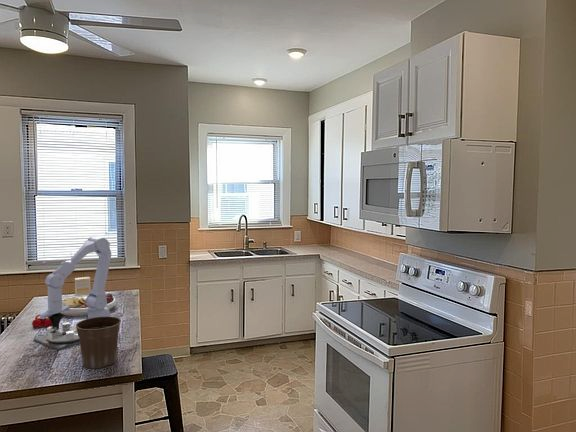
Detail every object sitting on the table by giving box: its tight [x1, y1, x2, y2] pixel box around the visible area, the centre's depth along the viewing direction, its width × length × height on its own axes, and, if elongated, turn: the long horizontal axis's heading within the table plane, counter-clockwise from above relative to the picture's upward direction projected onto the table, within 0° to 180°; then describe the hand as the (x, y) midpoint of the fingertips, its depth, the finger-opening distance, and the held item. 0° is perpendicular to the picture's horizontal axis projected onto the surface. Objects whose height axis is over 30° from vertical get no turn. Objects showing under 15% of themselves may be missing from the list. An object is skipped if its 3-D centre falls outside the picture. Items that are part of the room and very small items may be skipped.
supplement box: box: [74, 276, 91, 297], centre depth 264 cm, size 8×5×13 cm, turn 120°
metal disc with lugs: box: [45, 321, 80, 343], centre depth 196 cm, size 17×17×4 cm
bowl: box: [61, 292, 116, 317], centre depth 243 cm, size 30×30×8 cm
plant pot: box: [75, 316, 122, 370], centre depth 171 cm, size 16×16×16 cm
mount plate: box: [33, 334, 80, 351], centre depth 197 cm, size 20×20×1 cm
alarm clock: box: [31, 314, 52, 329], centre depth 216 cm, size 10×6×15 cm
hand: (55, 329), depth 198 cm, fingers closed, pressing on metal disc with lugs
